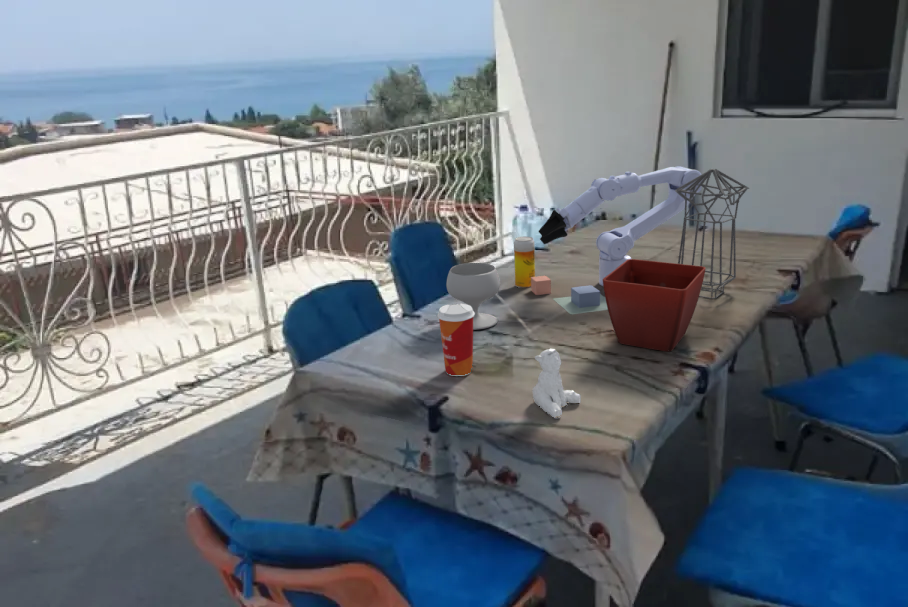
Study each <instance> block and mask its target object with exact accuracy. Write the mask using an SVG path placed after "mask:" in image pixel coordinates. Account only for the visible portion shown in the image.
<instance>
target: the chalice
mask: <svg viewBox="0 0 908 607" xmlns="http://www.w3.org/2000/svg"><path fill="white" fill-rule="evenodd" d="M445 286H446V290H447V292H448V294H449V295H450V296H451V298H453V299H456V300H458V301H459V302H462V303H463V304H467V305H470V306H471V307H472V309H473V311H474V313H475V315H474V317H473V331H475V330H483V329H488V328H491V327H493V326H495V325H497V323H498V320H499V319H498V318H497V317H496V316H494V315H492V314H488V313H482V312H479V307H480V306H481V304H483V303H484V302H486V301H488V300H490V299H492V298H493V297H495V296H496V295H497V293H498V292H499V291H500V288H501V280H500V276H499V273H498V270H497V269H496V267H495V266H494V265H492V264H491V263H486V262H465V263H460V264H456V265H454V266H452V267H451V268H450V270H449V271H448V274H447V277H446V284H445Z"/></svg>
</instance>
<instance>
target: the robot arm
mask: <svg viewBox="0 0 908 607" xmlns="http://www.w3.org/2000/svg"><path fill="white" fill-rule="evenodd" d="M702 174H703V173H701V171H699V170H697V169H691V168H687V167H685V166H683V165H682V166H680V165H677V166H675V167H674V166H669V167H666V168H662V169H658V170H655V171H651V172H647V173H643V174H640V175H638V174H637V173H635V172H631V171H625V172H624V174H620V175H616V176H615V175H609V177H608V178H605V177H599V178H597V179H593V180H592V183H591V184H590V187H588V189H586V190H585V191H584V192H583V193H581V194H579V196H577V197H576V198H574V199H573V200H572V201H571V202H570V203H568V204H567V205H566V206H565V207H563V208H560V207H557V208H556V209H553V210H552V212H551V213H550V215H549V218H548V219H547V220H546V222H544V224H543V225H542V226H541V227H540V228H539V230H538V233H539V234H540V238H539V240H540V241H541V242H542V244H543V245H546V244H549V243H551V242H553V241H555V240H557V239H561V238H565V237H567V236H568V232H567V230H569V229H573V227H574V226H575V225H577V224H578V223H579V222H580V221H582V220H583V219H584V218H586V217H587V216H589V214H591V213H592V212H593V211H595V210H596V209H597V208H598V207H600V206H601V205H602V204H603V203H605V202H606V201H610V202H611V201H613V200H615V199H616V198H617V197H621V196H626V195H630V194H635V193H638V192H639V191H640V189H641V188H643V187H648V186H654V185H661V184H665V183H666V184H667V185H668V188H667V189H668V197H667V199H665V200H663V201H662V202H660V203H658V204H657V205H655V206H654V207H651V209H649V210H648V211H646V212H644V213H642V214H641V215H640V216H637V217H636V218H635V219H634V220H632V221H630V222H629V223H627V224H626V225H623V226H619V227H616V228H613V229H612V230H610V231H609V230H608V231H603V232H602V233H600V234H599V235H598V236H597V238H596V240H595V246H596V248H597V249H598V251H599V257H598V258H599V259H598V260H599V261H598V285H600V286H602V287H603V278H605V277H606V276H607V275H609V274H610V273H611V272H613V271H614V270H615V269H616V268H618V267H619V266H620V265H621V264H623V263H624V262H625V261H626V260H628V259H632V257H631V256H630V255H628V252H629V251H631V250H632V249H633V248H634V246H635V242H636V241H637V240H639V239H640V238H642V237H644V236H645V235H646V234H648V233H651V231H653V230H654V229H656V228H657V227H659V226H661V225H663V224H664V223H666V222H667V221H669V220H670V219H672V218H673V217H675V216H677V215H678V214H679V213H682V212H683V211H685V199H684V198H683V197H681V196H680V195H679V194H678V193H677V192H675V190H676V189H677V188H679V187H681V186H683V185H684V184H686V183H688V182H690V181H691V180H693V179H695V178H697V177H698V176H700V175H702ZM693 183H694V182H693ZM693 183H691V184H690V185H688V186H687V187H685V188H684V189H682V188H681V189H682V190H685V189H687V188H688V187H689V186H691V185H692V184H693ZM700 183H701V182H700ZM700 183H699V184H700ZM697 187H698V185H697V186H696V188H697ZM696 188H695V190H696ZM702 188H703V187H702V186H700V187H699V189H698V190H697V193H701V191H702ZM692 191H693V190H692ZM688 192H690V190H688ZM682 194H683V195H685V193H682ZM695 196H696V194H694V197H695ZM686 197H687V198H690V194H688V193H686ZM691 200H692V201H693V198H692V199H691ZM689 204H691V203H690V202H689V201H688V200H687V207H688V206H689Z"/></svg>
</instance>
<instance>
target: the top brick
mask: <svg viewBox="0 0 908 607" xmlns="http://www.w3.org/2000/svg"><path fill="white" fill-rule="evenodd" d="M530 288H531V289H530V290H531V292H532V293H533V294H534V295H535V296H540V295H542V296H543V295H548V294H549V295H550V294H552V280H551V278H550V277H548V276H547V275H539V276H535V277H531V287H530Z"/></svg>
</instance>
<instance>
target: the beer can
mask: <svg viewBox="0 0 908 607" xmlns="http://www.w3.org/2000/svg"><path fill="white" fill-rule="evenodd" d="M535 250H536V249H535V240H534V238H533V237H532V236H518V237H516V238H514V240H513V254H514V255H513V264H514V266H513V267H514V286H516V288H517V287H518V288H517V289H522V288H531V277H536V260H535V258H536V256H535Z"/></svg>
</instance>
